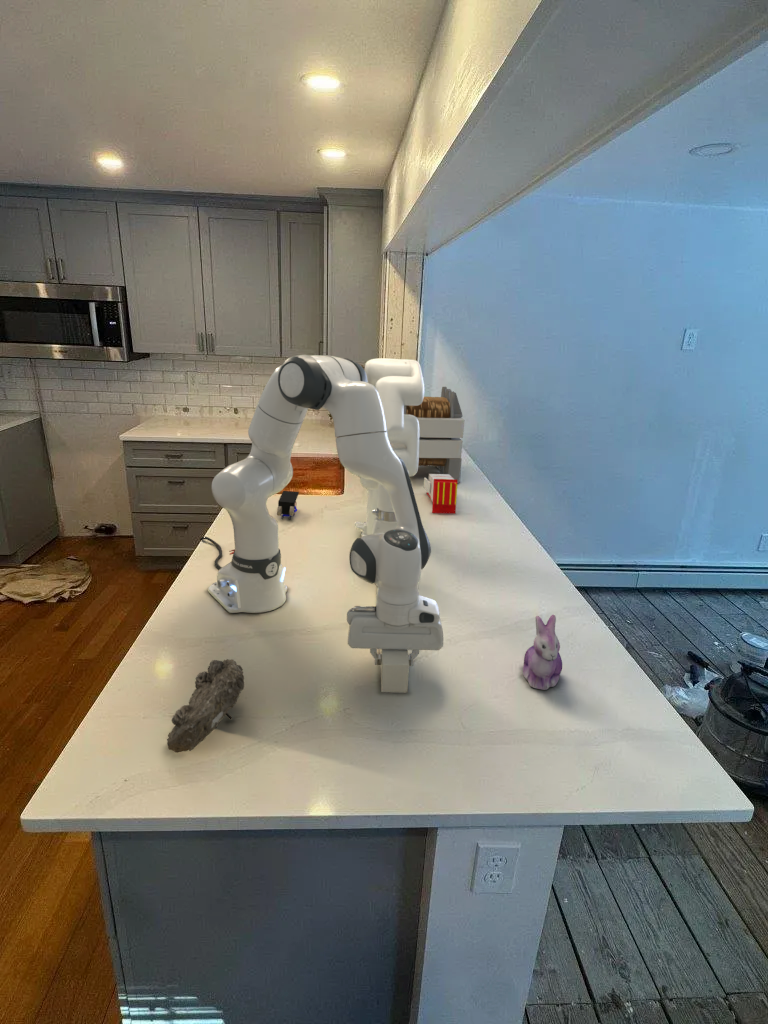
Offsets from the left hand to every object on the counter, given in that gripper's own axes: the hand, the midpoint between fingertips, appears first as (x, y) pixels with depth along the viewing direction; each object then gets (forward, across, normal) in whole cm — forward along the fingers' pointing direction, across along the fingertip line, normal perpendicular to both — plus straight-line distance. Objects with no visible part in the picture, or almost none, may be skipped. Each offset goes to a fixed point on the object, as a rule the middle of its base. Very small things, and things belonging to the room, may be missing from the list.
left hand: (394, 663), depth 122 cm
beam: (+3, 0, +24) cm, 24 cm away
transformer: (+3, +19, +161) cm, 162 cm away
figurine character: (+3, -36, +97) cm, 103 cm away
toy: (+3, +24, +117) cm, 120 cm away
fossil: (+3, -35, -15) cm, 38 cm away
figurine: (+3, +32, 0) cm, 33 cm away
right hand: (0, 0, +47) cm, 47 cm away
